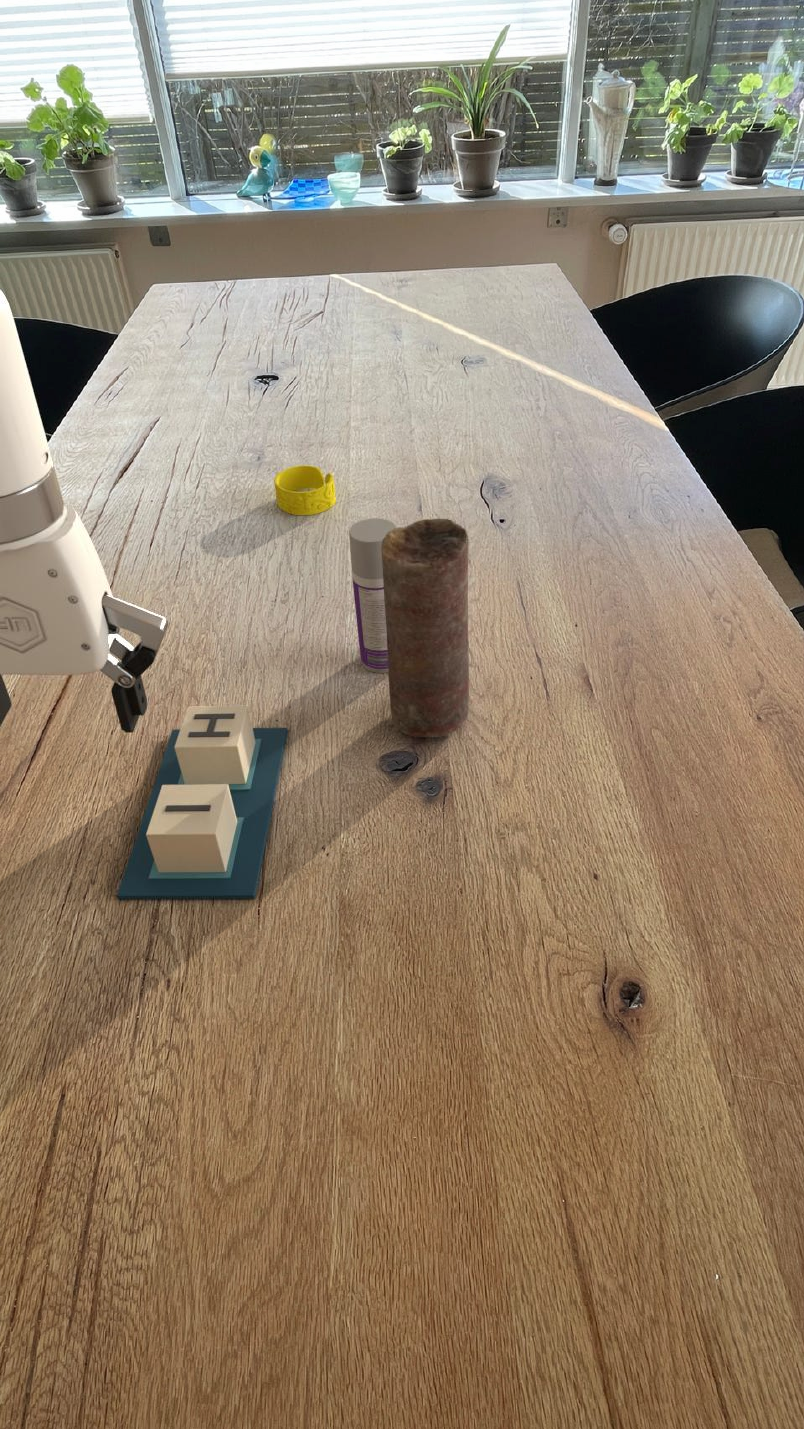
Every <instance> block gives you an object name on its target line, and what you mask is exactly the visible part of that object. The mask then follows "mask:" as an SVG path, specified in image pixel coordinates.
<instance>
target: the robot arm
mask: <svg viewBox="0 0 804 1429" xmlns="http://www.w3.org/2000/svg"><path fill="white" fill-rule="evenodd" d="M56 472H57V471H56V468H55V466H54V461H53V458H52V453H51V451H50V448H49V444H48V440H47V436H46V431H45V428H44V425H43V421H42V418H41V414H40V410H39V407H38V403H37V399H36V396H35V392H34V388H33V385H32V380H31V376H30V374H29V369H28V367H27V363H26V360H25V355H24V352H23V348H22V344H21V341H20V338H19V333H18V330H17V326H16V322H15V319H14V316H13V313H12V309H11V306H10V304H9V302H8V300H7V298H6V296H5V294H4V293H3V291H2V290H1V289H0V727H1V726H2V724H3V722H4V720H5V719H6V717H7V715H8V713H9V711H10V710H11V708H12V700H11V697H10V694H9V691H8V689H7V686H6V684H5V681H4V678H3V676H2V675H6V676H7V675H9V676H10V675H13V676H19V675H20V676H76V675H77V676H81V675H83V676H84V675H90V674H94V673H97V672H101V673H102V674H104V675H105V676H106V677H107V678H108V679H110V680H112V681H113V682H114V683H113V684H112V687H111V698H112V701H113V704H114V707H115V710H116V714H117V719H118V722H119V725H120V729H121V731H123V732H124V733H127V734H129V733H131V734H133V733H134V732H135V729H136V726H137V724H138V721H139V718H140V716H144V715H145V714H146V711H147V709H148V708H147V707H148V698H147V695H146V694H147V693H146V690H145V686H144V683H143V678H142V675H143V673H145V671H147V670H148V669H149V668H150V667H151V666H152V664H154V662H155V660H156V657H157V654H158V652H159V650H160V647H161V645H162V642H163V640H164V637H165V635H166V632H167V631H168V627H169V621H168V619H167V618H166V617H164V616H161V615H159V614H156V613H155V612H152V611H149V610H147V609H144V608H142V607H139V606H137V605H134V604H132V603H130V602H126V601H125V600H122V599H120V598H116V597H114V595H113V593H112V589H111V587H110V586H111V585H110V583H109V580H108V577H107V575H106V572H105V570H104V568H103V564H102V561H101V559H100V556H99V554H98V552H97V550H96V547H95V545H94V542H93V541H92V539H91V537H90V535H89V532H88V531H87V529H86V527H85V525H84V523H83V522H82V519H81V517H80V516H79V514H78V512H77V511H76V509H75V508H74V507H72V506H68V505H65V502H64V497H63V493H62V491H61V487H60V483H59V479H58V476H57V473H56ZM121 629H123V630H124V631H125V630H126V631H128V632H130V633H133V634H136V635H137V636H138V637H139V638H140V642H139V643H137V644H136V645H135V647H134V646H133V645H132V644H131V643H130V642H128V641H127V640H126V639H125V638H123V637H122V636H121V635H119V634H120V630H121ZM110 653H111V654H110ZM112 655H113V656H112ZM114 656H115V657H117V658H115V657H114ZM118 659H119V660H120V661H119V660H118Z"/></svg>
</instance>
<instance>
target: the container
mask: <svg viewBox="0 0 804 1429" xmlns="http://www.w3.org/2000/svg"><path fill="white" fill-rule="evenodd" d="M394 528H397V526H396V524H395V523H394V522H392V521H391V520H388V519H385V518H379V517H377V518H375V517H374V518H373V517H372V518H366V519H362V520H359V521H357V522H355V523H354V524H352V525H351V526H350V527H349V530H348V538H349V550H350V564H351V578H352V579H351V580H352V589H353V598H354V607H355V618H356V627H357V637H358V646H359V654H360V656H359V657H360V663H361V665H362V667H363V668H365V669H366V670H367V671H369V672H372V673H379V674H387V673H389V671H388V652H387V629H386V616H385V603H384V584H383V567H382V552H381V546H382V541H383V538H384V537H385V536H386V534H387V533H388V532H389V531H391V530H393V529H394Z"/></svg>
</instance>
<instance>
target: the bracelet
mask: <svg viewBox="0 0 804 1429" xmlns="http://www.w3.org/2000/svg"><path fill="white" fill-rule="evenodd" d="M273 483H274V489H275V492H274V493H275V498H276V501H277V507H279V508H278V509H280V510H282V511H283V512H285V513H287V514H290V515H294V516H311V515H316V514H317V515H318V514H320V513H324V512H326V511H328V510H329V509H331V508H332V507H333V506H334V505H335V504H336V502H337V498H336V485H335V484H336V483H335V480H334V474H333V473H331V472H328V473H326V474H325V476H324V474H323V472H322V470H321V468H319V467H318V466H315V465H310V464H309V465H308V464H300V465H294V466H291V467H288V468H286V469H283V470H281V471H279V472H278V473H277V474H276V475H275V476H274V479H273ZM306 489H307V490H306ZM308 489H311V490H308ZM299 490H304V491H299ZM305 490H306V491H305Z"/></svg>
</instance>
